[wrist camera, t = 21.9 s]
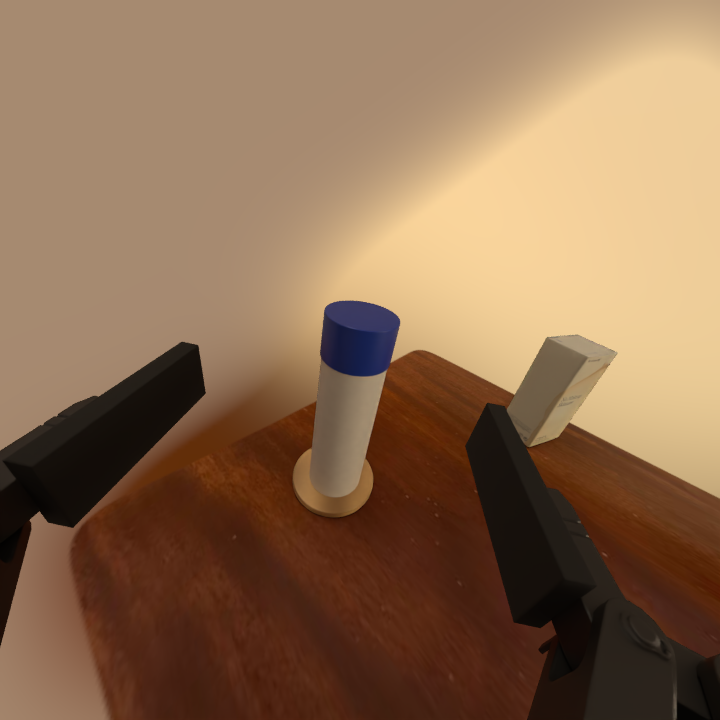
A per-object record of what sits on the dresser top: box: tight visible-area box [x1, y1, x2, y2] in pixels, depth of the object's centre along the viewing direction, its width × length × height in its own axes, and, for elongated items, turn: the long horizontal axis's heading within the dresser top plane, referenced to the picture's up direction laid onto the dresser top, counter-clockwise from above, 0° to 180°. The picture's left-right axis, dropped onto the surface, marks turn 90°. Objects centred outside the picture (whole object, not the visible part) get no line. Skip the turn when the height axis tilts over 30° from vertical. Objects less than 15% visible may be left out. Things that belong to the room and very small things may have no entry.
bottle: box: [309, 301, 400, 497], centre depth 21 cm, size 5×5×15 cm
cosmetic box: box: [507, 335, 617, 447], centre depth 32 cm, size 6×4×12 cm
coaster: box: [293, 448, 373, 517], centre depth 25 cm, size 7×7×1 cm
